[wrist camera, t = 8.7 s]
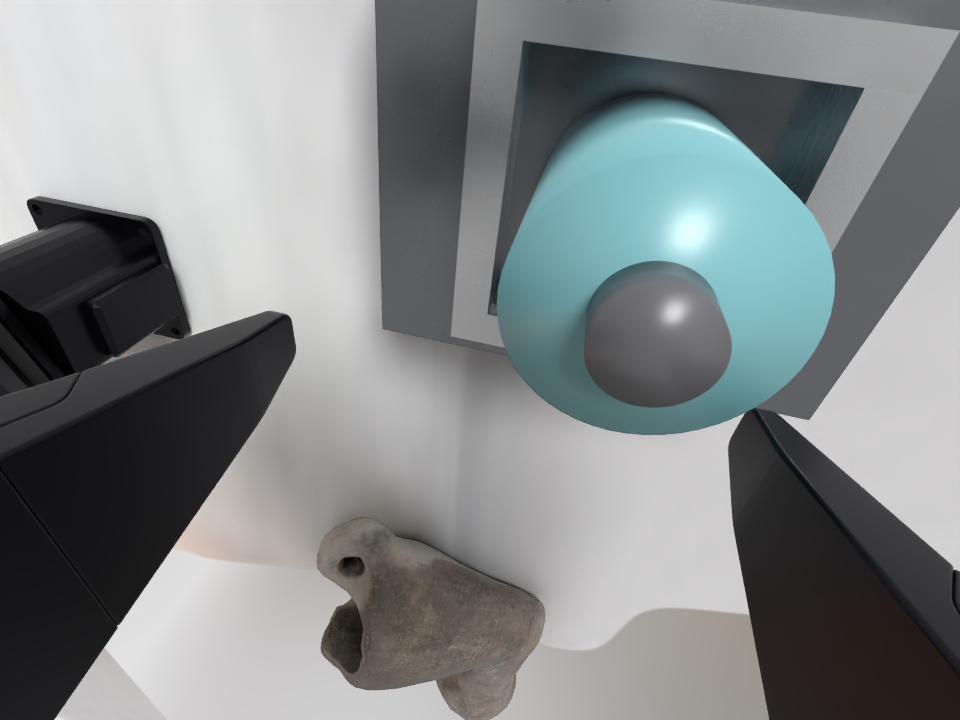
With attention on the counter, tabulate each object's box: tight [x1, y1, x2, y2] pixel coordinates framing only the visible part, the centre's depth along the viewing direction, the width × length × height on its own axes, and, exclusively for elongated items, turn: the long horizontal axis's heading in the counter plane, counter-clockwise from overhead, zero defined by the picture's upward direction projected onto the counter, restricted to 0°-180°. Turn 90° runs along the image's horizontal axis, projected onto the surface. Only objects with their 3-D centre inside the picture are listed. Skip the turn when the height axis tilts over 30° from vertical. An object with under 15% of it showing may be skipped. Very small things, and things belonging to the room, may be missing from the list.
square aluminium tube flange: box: [375, 0, 960, 420], centre depth 14 cm, size 14×13×6 cm
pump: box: [497, 93, 835, 435], centre depth 10 cm, size 5×5×7 cm
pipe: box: [317, 518, 545, 720], centre depth 32 cm, size 16×9×15 cm
